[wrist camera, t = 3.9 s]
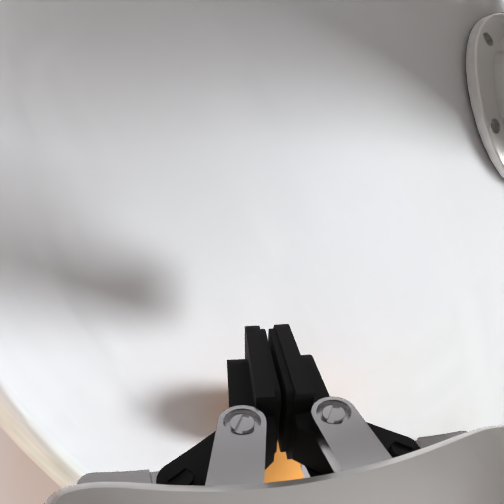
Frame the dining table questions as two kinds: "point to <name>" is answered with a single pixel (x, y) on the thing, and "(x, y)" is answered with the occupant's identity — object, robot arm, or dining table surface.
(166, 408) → the dining table surface
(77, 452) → the dining table surface
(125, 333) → the dining table surface
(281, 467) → the ball
